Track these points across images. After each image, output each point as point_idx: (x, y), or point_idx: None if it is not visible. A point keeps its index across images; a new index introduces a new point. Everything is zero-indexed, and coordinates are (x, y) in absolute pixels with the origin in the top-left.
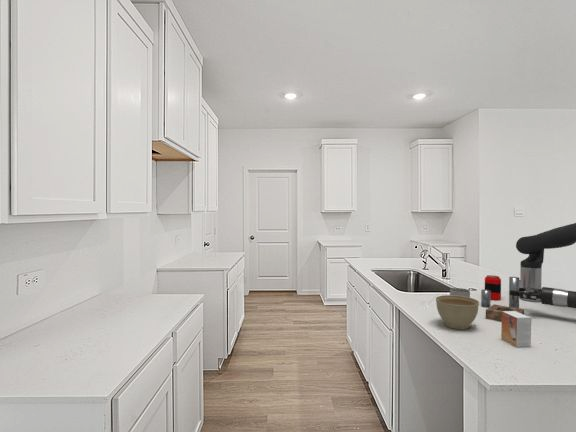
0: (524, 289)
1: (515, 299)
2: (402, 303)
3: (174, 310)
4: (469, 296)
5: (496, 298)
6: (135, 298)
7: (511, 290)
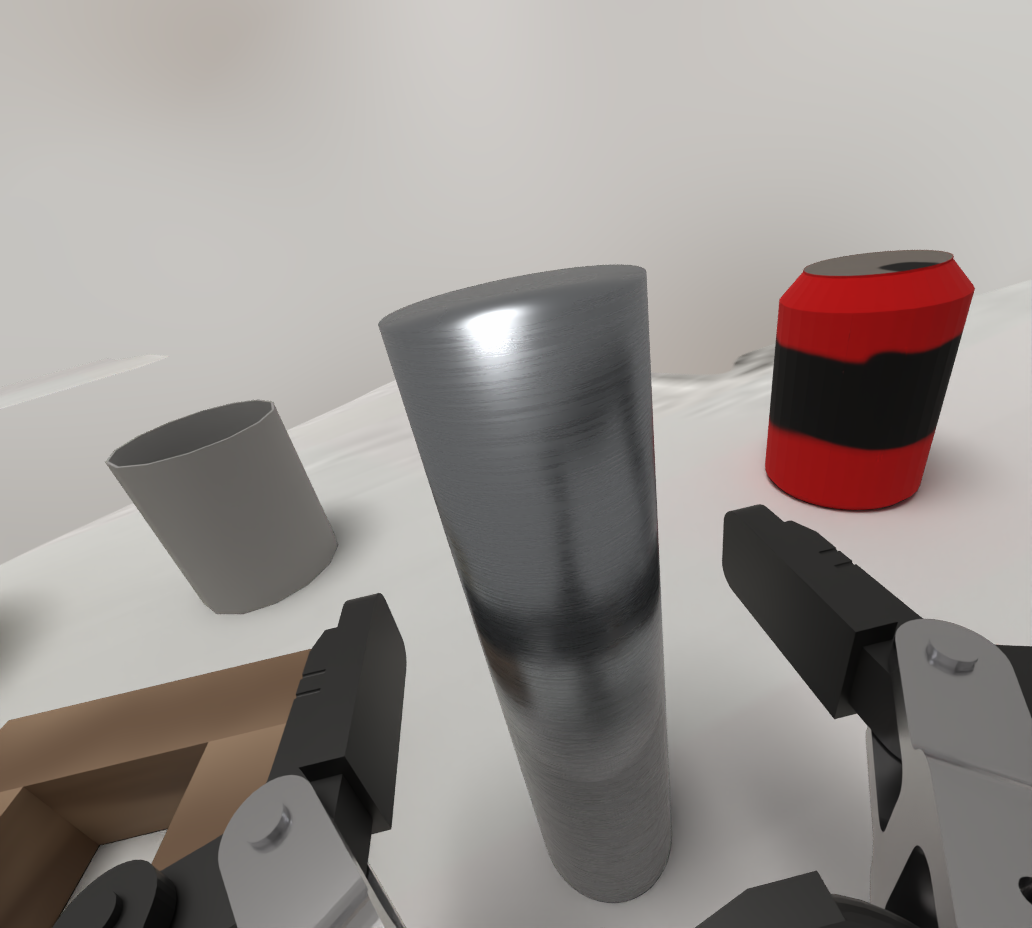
0: (877, 662)
1: (518, 754)
2: (294, 433)
3: (36, 395)
4: (191, 501)
5: (825, 493)
6: (115, 361)
7: (349, 610)
